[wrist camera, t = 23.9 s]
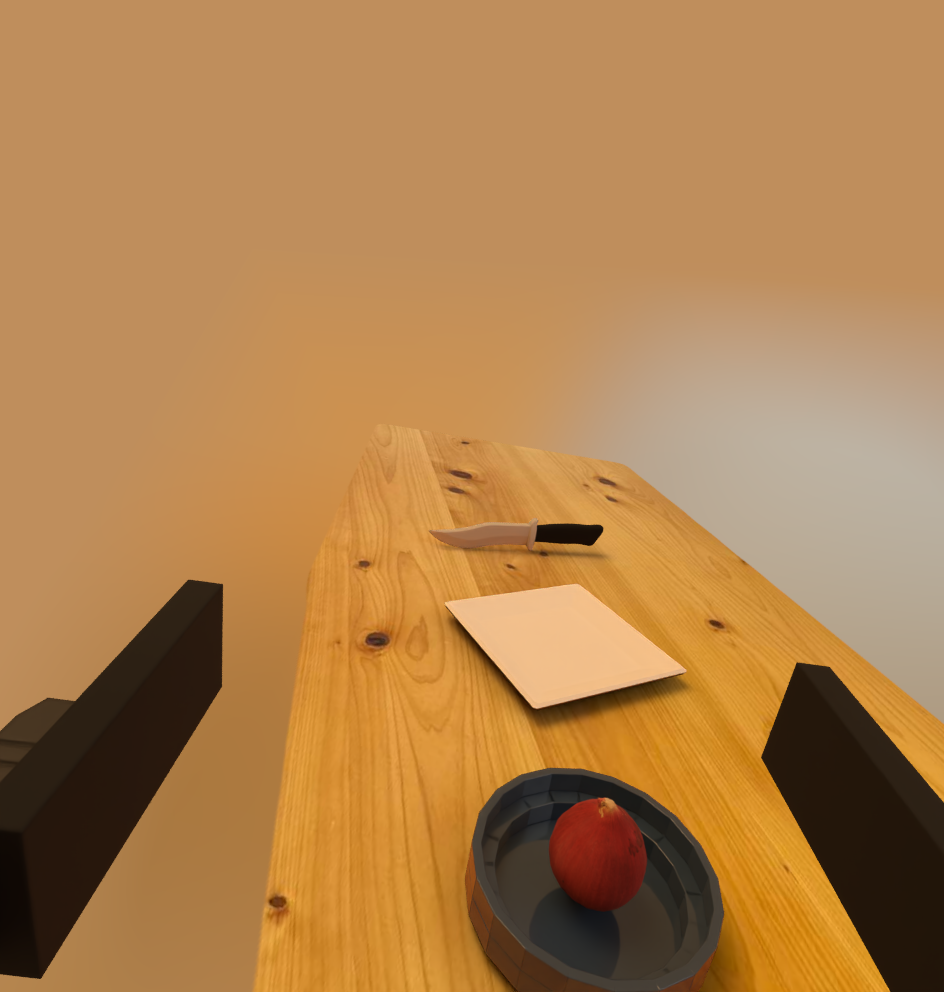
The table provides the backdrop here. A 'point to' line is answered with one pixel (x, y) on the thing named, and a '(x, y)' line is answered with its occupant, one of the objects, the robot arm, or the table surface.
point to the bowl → (572, 927)
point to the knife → (518, 534)
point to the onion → (598, 854)
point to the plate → (561, 644)
